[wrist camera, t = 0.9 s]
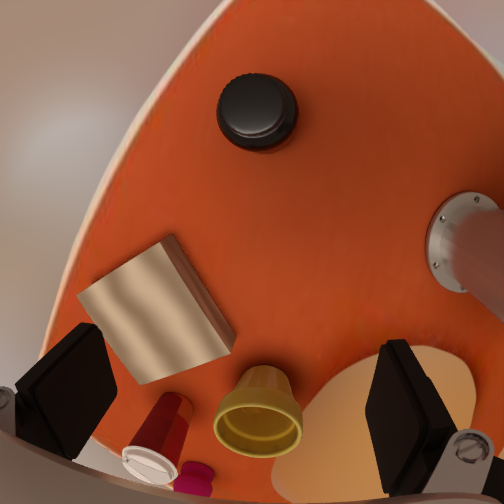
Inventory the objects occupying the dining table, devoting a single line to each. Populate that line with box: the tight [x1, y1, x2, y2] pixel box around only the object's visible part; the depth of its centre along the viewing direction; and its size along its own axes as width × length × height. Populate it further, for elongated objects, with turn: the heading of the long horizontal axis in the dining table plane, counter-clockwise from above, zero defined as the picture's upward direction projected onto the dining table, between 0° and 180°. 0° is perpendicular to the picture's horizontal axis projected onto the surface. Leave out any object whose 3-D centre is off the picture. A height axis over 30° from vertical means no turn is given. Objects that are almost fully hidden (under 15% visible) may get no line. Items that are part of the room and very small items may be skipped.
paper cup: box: [122, 392, 193, 485], centre depth 38 cm, size 8×8×14 cm
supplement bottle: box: [216, 73, 299, 154], centre depth 26 cm, size 7×7×12 cm
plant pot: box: [213, 365, 303, 458], centre depth 37 cm, size 10×10×10 cm
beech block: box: [76, 234, 236, 385], centre depth 38 cm, size 15×15×4 cm
